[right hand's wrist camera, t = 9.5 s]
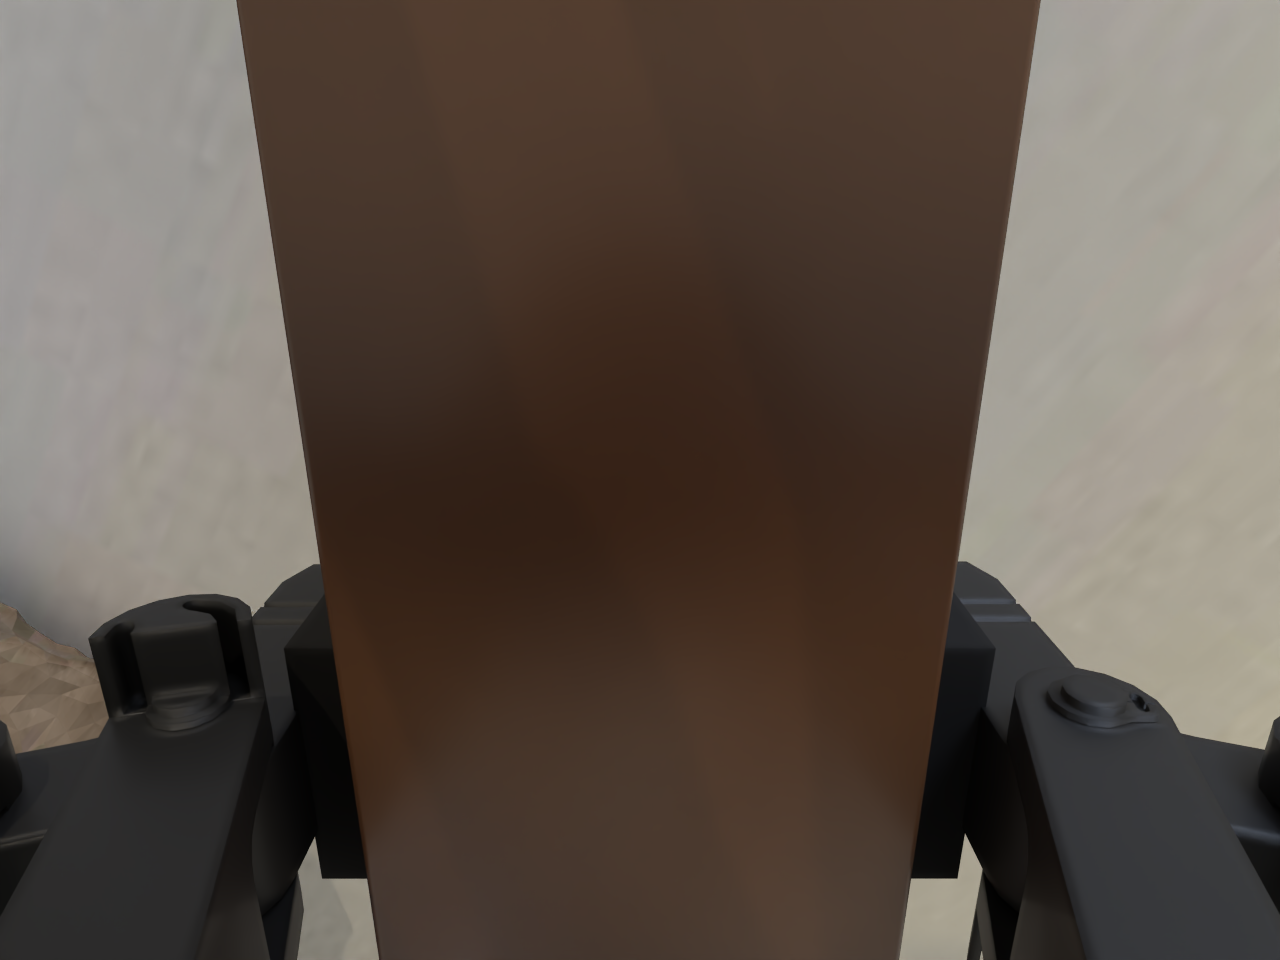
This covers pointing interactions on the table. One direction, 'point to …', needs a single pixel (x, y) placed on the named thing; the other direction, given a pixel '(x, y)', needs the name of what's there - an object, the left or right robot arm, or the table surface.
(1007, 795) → the right robot arm
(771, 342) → the walnut beam
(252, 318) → the table surface
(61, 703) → the stone
